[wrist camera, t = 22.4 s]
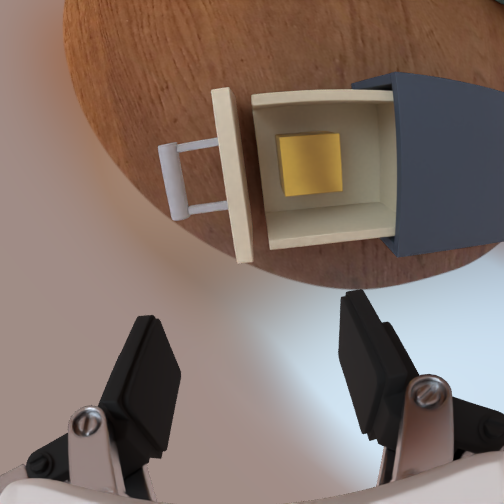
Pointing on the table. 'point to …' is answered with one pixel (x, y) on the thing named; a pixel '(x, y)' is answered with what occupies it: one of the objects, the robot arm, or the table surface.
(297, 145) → the block
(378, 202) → the drawer
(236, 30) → the table surface
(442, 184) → the cabinet
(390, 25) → the table surface
